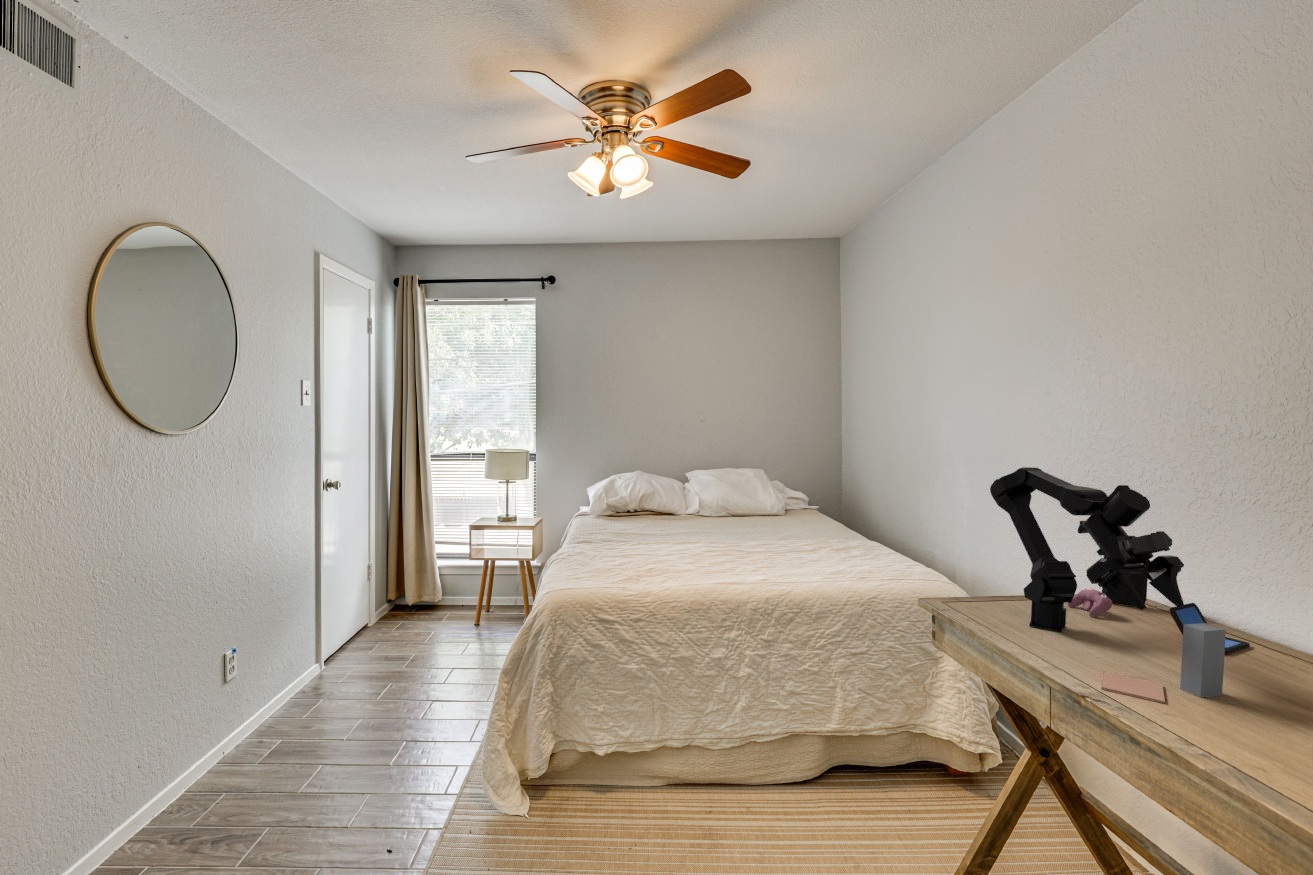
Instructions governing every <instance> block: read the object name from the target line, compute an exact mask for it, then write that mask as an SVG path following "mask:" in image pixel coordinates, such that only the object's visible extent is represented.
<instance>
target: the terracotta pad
mask: <svg viewBox="0 0 1313 875" xmlns="http://www.w3.org/2000/svg"><path fill="white" fill-rule="evenodd" d="M1101 676H1102V677H1101V690H1105V691H1108V692H1113V693H1116V694H1117V693H1118V694H1122V695H1126V696H1129V697H1130V696H1131V697H1135V698H1139V699H1143V700H1147V701H1152V702H1155V703H1161V704H1165V703H1166V699H1165V692H1164V686H1163V684H1162V683H1158V682H1154V681H1150V680H1144V679H1140V678H1135V677H1132V676H1126V675H1123V674H1122V675H1121V674H1117V673H1113V672H1109V671H1108V672H1107V671H1102V675H1101Z"/></svg>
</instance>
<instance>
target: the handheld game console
mask: <svg viewBox="0 0 1313 875" xmlns="http://www.w3.org/2000/svg"><path fill="white" fill-rule="evenodd" d="M1168 610H1169V614H1170V616H1171V618H1172V620H1173V621H1174V624H1175V625H1176V626H1177V629H1178V630H1179V632H1180V633H1181V635H1182V636H1183V627H1184V624H1199V623H1206V624H1208V622H1207V620H1206V619H1205V617H1204V615H1203V613H1202V611H1201V609H1200V608H1199V607H1198V605H1197V604H1196V603H1195V602H1190V603H1186V604H1185V603H1184V606H1183V607H1181V608H1178V607H1177V606H1176V605H1175V606H1173V607H1169V609H1168ZM1250 646H1251V644H1250V643H1249V642H1248V641H1243V640H1240V639H1235V638H1232V637H1228V636H1225V653H1224V656H1227V655H1230V654H1234V653H1237V652H1239V651H1243V650H1246V649H1248V648H1250Z"/></svg>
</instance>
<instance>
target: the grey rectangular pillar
mask: <svg viewBox="0 0 1313 875" xmlns="http://www.w3.org/2000/svg"><path fill="white" fill-rule="evenodd" d="M1226 632H1227V629H1225V628H1222V627H1219V626H1215V625H1213V624H1209V623H1207V624H1206V623H1199V624H1184V627H1183V635H1182V645H1181V646H1182V648H1181V650H1182V651H1181V665H1180V667H1181V668H1180V683H1179V684H1180V685H1179V686H1180V688H1179V689H1180V690H1182V691H1183V692H1187V693H1189V694H1191V695H1193V696H1195V697H1198V698H1209V697H1218V696H1223V689H1224V688H1223V686H1224V669H1225V668H1224V667H1225V666H1224V665H1225V655H1224V653H1225V637H1227V636H1226V634H1227V633H1226Z"/></svg>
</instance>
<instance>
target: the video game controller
mask: <svg viewBox="0 0 1313 875" xmlns="http://www.w3.org/2000/svg"><path fill="white" fill-rule="evenodd" d="M1080 605H1082V609H1084V610H1086V611H1087V610H1088V615H1089V617H1090V618H1093V619H1094V618H1098V617H1101V616H1103V615H1105V613H1106V612H1107V611H1109V610H1111V608H1112V606H1113V604H1112V601H1111V600H1110V599H1109V598H1108V597H1107V596H1106V595H1105V594H1104V593H1102V591H1099V590H1096V589H1094V588H1093V589H1091V588H1090V589H1088V588H1083V589H1082V590H1080V591H1079V592H1077V593H1075V594H1074V597H1073V600H1072V602H1071V603H1067V606H1068V607H1069V608H1076V607H1079V606H1080Z"/></svg>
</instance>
